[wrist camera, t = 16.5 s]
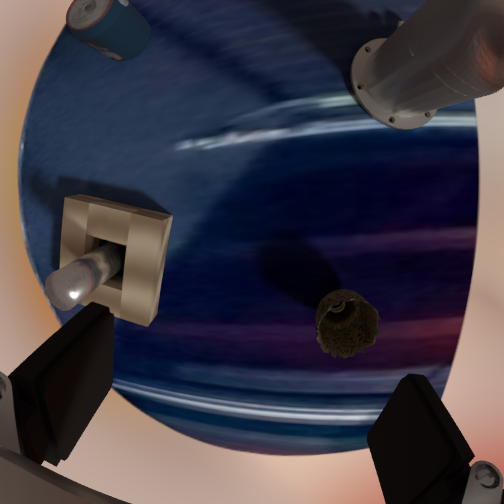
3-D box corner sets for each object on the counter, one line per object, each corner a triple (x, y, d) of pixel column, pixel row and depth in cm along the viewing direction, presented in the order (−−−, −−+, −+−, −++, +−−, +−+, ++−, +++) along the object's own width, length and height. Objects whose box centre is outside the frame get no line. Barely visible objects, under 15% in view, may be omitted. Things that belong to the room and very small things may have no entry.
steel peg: (106, 236, 39) (45, 268, 26) (131, 243, 40) (76, 279, 26) (103, 264, 40) (45, 303, 27) (128, 271, 41) (75, 315, 27)
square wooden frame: (80, 193, 38) (64, 197, 34) (172, 215, 38) (162, 220, 34) (73, 286, 42) (59, 296, 38) (157, 313, 42) (147, 326, 38)
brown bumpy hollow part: (359, 324, 41) (376, 356, 34) (307, 328, 42) (315, 361, 34) (363, 274, 39) (384, 298, 32) (308, 276, 40) (318, 302, 32)
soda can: (151, 13, 31) (116, -28, 20) (157, 53, 33) (118, 17, 21) (106, 31, 32) (62, -1, 20) (109, 70, 34) (61, 45, 22)
